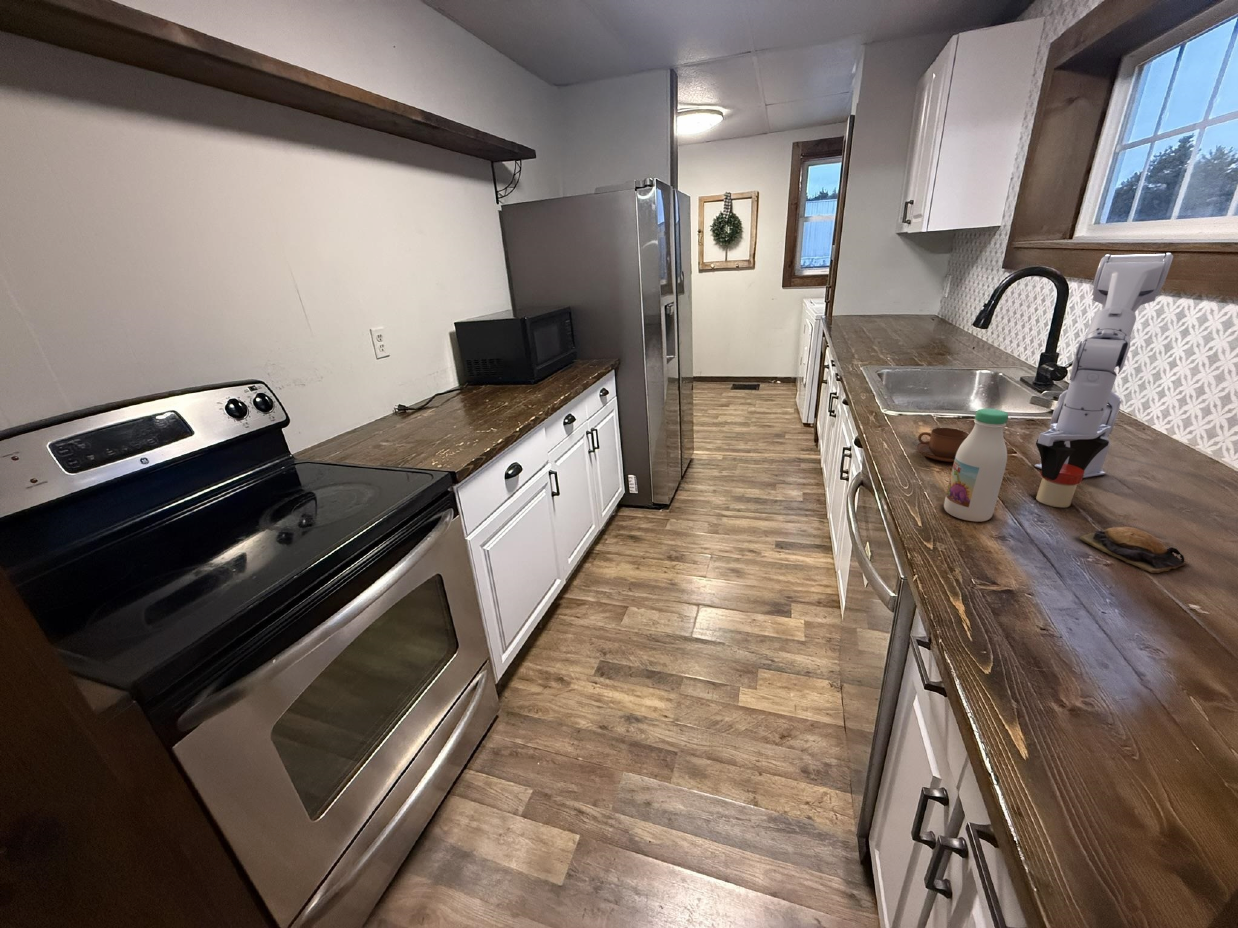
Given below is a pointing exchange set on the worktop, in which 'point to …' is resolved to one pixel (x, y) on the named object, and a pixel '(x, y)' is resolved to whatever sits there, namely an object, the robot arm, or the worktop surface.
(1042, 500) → the honey jar
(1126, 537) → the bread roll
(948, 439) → the cup and saucer
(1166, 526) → the worktop surface
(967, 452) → the milk bottle
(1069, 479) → the honey lid
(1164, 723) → the worktop surface
